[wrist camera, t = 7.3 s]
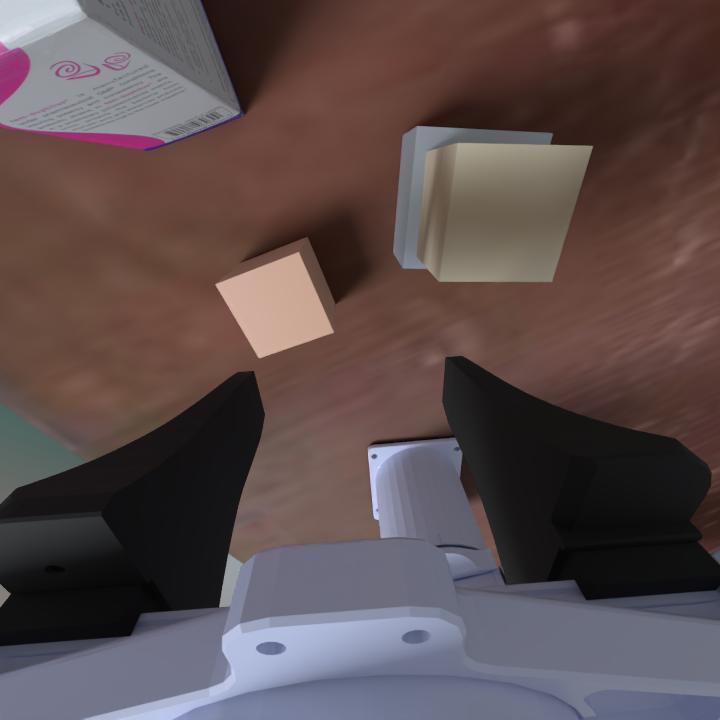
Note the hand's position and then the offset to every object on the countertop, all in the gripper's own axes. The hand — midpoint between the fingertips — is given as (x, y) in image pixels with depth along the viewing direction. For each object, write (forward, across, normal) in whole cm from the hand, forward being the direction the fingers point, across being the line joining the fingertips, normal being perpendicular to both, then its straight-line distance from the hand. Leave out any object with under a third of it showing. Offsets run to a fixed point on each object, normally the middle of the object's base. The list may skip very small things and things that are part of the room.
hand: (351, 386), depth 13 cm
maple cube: (+6, -6, -5) cm, 10 cm away
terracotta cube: (+10, +4, -1) cm, 11 cm away
